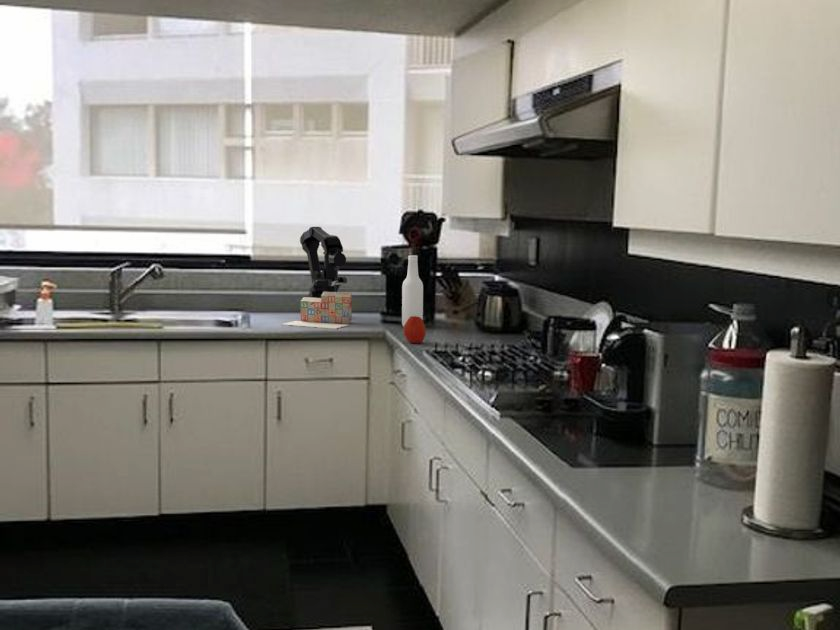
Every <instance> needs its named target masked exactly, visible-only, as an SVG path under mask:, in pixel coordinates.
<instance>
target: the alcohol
mask: <svg viewBox="0 0 840 630" xmlns="http://www.w3.org/2000/svg"><path fill="white" fill-rule="evenodd" d="M407 257H408V258H407V259H408V261H407V263H408V265H407V275H406V278H404V280H403V281H402V285H401V297H402V298H401V304H402V305H401V325H402V327H403V328H404V326H405V323H406V322H407V320H408V319H409V318H410V317H411V316H417V317H420V318H421V319H422V320H424V318H423V317H424V316H423V315H424V284H423V281H422V280H421V278H420V276H419V268H418V267H419V265H418V264H419V263H418V259H419V258H418V257H419V256H418V255H417V254H416V255H415V254H414V255H413V254H411V255H408V256H407Z"/></svg>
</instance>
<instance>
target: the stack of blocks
mask: <svg viewBox="0 0 840 630" xmlns="http://www.w3.org/2000/svg"><path fill="white" fill-rule="evenodd" d="M352 294H353V293H352V292H344V291H337V292H323V293H322V295H321V298H311V297H308V296H306V297H305V296H303V297H302V298H301V300H300V301H299V302H300V321H304V322H318V323H332V324H346V325H349V324H350V323H351V321H352V315H353V314H352V313H353V312H352V309H353V308H352V306H353V304H352V303H353V301H352V299H353V295H352Z"/></svg>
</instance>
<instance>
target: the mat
mask: <svg viewBox="0 0 840 630" xmlns="http://www.w3.org/2000/svg"><path fill="white" fill-rule="evenodd" d="M282 324H283V325H282V326H286V325H294V326H293V327H299V326H305V327H304V328H313V327H317V328H316V329H326V328H327V330H328V329H329V330H338V329H342V328H345V327H348V326H349V324H341V323H325V322H308V321H301V320H294V321H288V322H284V323H282ZM341 327H342V328H341ZM337 328H338V329H337Z"/></svg>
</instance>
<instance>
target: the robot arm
mask: <svg viewBox="0 0 840 630" xmlns="http://www.w3.org/2000/svg"><path fill="white" fill-rule="evenodd" d="M299 242H300V245H301V249H302V250H303V251H304V252H305V253H306V255H307V260H308V265H309V273H310V278H311V279H310V280H311V285H310V288H309V292H308V296H307V297H311V298H321V295H322V293H323V292H339V289H340V287H341V286H342V284H348V278H347V277H346V276H339V270H340V267H343V266H344V265H345V264H346V262H347V258H346V255H345V254H344V253H343V252H344V247H343V245H342V241H341V239H340V238H339V236H337V235H332V234H329V233H327V232H326V231H325V230H324V229H322V227H321V226H310V227H309V229H308V230H306V231H304V232H303V233H302V234H301V236H300V239H299ZM320 246H321V248H322V250H323V253H322V254H323V255H324V256H323V257H324V259H323V261H324V267H322V269H321V264H320V259H319V254H318V250H319V247H320ZM339 283H341V284H339Z"/></svg>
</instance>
